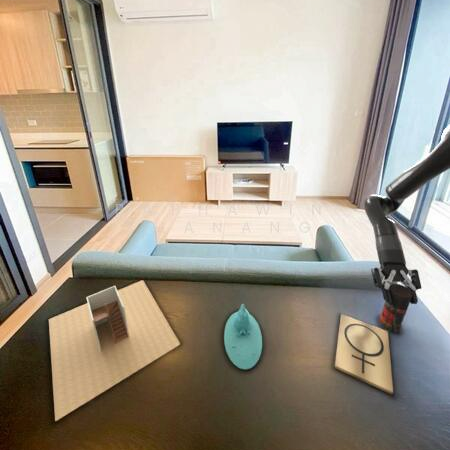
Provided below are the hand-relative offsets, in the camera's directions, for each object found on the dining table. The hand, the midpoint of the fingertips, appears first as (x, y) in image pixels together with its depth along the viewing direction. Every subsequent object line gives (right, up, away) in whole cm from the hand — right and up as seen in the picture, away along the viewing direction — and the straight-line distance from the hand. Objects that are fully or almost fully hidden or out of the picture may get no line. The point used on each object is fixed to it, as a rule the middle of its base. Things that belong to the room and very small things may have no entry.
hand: (401, 303), depth 77 cm
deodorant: (0, -10, +6) cm, 12 cm away
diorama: (-50, -12, +1) cm, 52 cm away
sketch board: (-14, -13, -2) cm, 19 cm away
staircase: (-94, -11, +3) cm, 94 cm away
